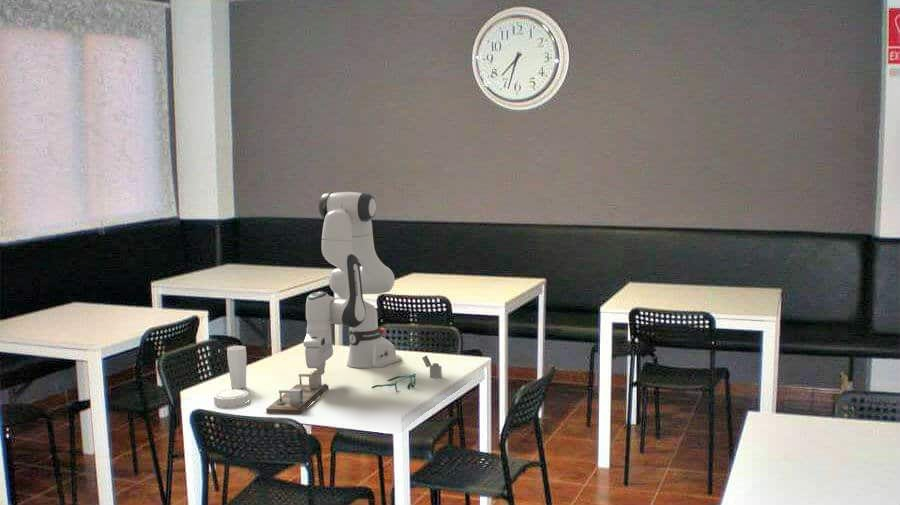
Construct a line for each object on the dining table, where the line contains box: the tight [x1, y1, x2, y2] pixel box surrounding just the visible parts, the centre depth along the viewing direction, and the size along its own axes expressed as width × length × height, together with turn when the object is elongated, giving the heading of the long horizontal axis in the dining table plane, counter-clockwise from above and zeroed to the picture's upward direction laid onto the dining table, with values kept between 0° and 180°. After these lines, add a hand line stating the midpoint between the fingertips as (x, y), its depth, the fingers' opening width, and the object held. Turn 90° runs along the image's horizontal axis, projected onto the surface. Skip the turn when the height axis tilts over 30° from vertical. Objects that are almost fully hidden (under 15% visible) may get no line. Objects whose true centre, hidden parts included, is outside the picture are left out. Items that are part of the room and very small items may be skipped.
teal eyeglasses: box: [371, 373, 417, 393], centre depth 359 cm, size 14×15×5 cm
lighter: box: [422, 355, 443, 379], centre depth 369 cm, size 7×2×8 cm, turn 69°
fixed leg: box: [278, 383, 328, 409], centre depth 343 cm, size 28×9×5 cm, turn 169°
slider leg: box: [298, 369, 323, 388], centre depth 354 cm, size 3×8×6 cm, turn 79°
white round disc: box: [213, 388, 250, 408], centre depth 345 cm, size 12×12×4 cm
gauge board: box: [265, 383, 329, 415], centre depth 344 cm, size 30×12×2 cm, turn 169°
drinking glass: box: [226, 345, 248, 389], centre depth 362 cm, size 7×7×15 cm
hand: (321, 374), depth 360 cm, fingers closed
